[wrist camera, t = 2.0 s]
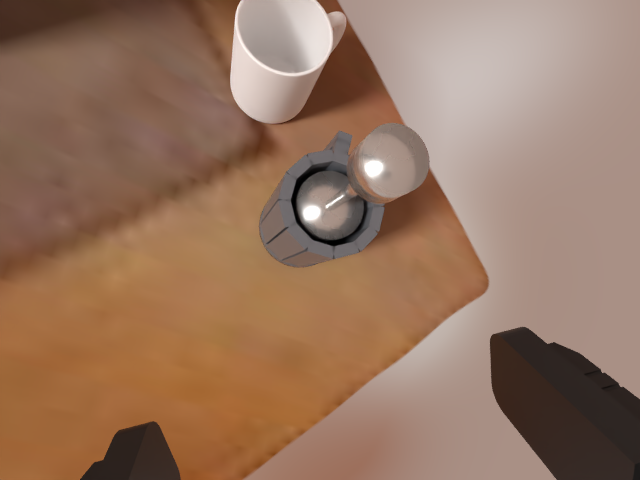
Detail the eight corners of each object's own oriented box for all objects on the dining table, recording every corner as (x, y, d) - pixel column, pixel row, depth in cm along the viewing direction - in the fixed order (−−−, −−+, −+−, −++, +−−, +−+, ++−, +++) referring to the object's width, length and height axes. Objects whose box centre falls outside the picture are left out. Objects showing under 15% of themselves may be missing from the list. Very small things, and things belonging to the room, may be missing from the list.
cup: (214, 71, 40) (214, 1, 30) (307, 30, 43) (334, -44, 34) (256, 139, 40) (270, 91, 31) (345, 93, 44) (383, 37, 34)
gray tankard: (249, 254, 39) (264, 239, 27) (278, 155, 41) (304, 103, 29) (326, 276, 40) (371, 271, 29) (350, 181, 43) (401, 141, 31)
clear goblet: (286, 228, 29) (333, 190, 18) (304, 164, 30) (360, 89, 19) (351, 249, 30) (433, 225, 19) (366, 186, 31) (453, 128, 20)
